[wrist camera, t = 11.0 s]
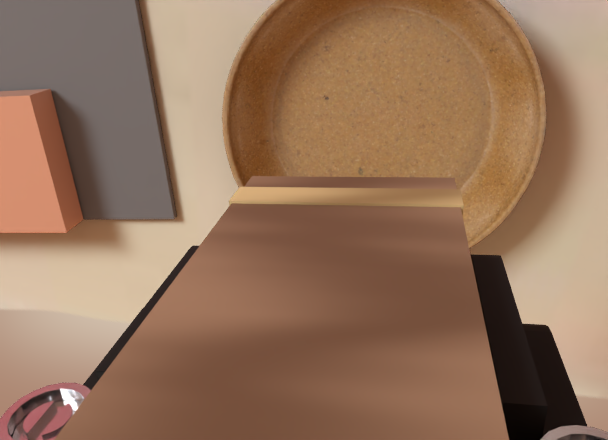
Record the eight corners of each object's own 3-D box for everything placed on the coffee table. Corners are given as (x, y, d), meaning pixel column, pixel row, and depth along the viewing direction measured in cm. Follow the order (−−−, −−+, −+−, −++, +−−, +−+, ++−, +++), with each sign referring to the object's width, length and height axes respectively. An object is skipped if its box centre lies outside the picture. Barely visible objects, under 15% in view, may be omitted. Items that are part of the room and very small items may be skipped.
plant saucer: (511, 259, 29) (521, 283, 27) (245, 246, 31) (233, 268, 29) (556, -45, 23) (574, -48, 21) (225, -36, 26) (208, -37, 23)
